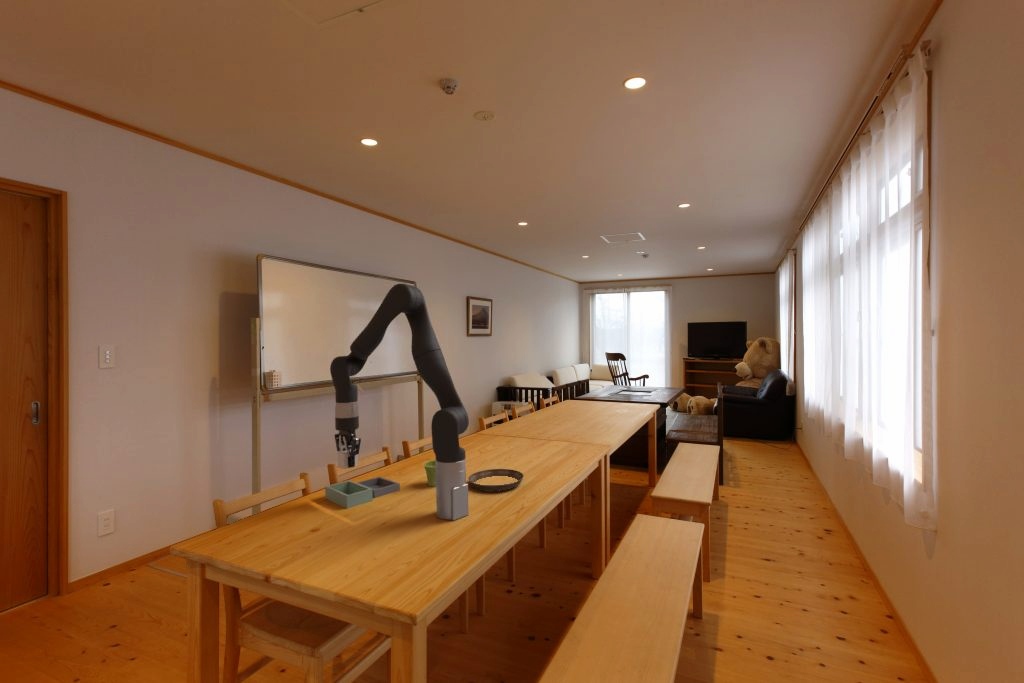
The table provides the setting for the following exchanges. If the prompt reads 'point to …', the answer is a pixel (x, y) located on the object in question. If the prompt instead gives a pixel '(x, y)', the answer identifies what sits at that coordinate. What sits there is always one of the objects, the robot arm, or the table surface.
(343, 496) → the sage green bin
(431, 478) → the plant pot
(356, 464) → the pale pink block
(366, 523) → the table surface
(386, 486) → the charcoal tub
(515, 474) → the plant saucer
